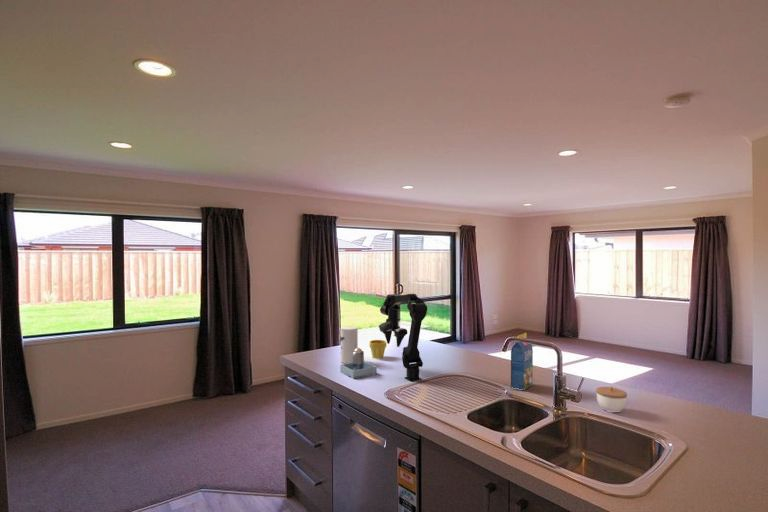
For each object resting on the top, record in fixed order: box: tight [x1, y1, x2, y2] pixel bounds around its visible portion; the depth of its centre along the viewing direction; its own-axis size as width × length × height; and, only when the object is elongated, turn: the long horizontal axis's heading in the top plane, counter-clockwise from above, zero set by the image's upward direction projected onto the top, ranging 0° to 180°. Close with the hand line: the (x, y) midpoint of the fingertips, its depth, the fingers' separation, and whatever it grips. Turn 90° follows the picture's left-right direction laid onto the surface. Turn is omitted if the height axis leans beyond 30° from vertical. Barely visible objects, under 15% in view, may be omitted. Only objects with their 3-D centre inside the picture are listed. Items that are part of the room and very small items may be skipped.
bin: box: [339, 360, 378, 379], centre depth 208 cm, size 14×14×4 cm
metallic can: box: [352, 347, 365, 370], centre depth 207 cm, size 6×6×12 cm
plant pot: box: [369, 339, 387, 359], centre depth 239 cm, size 10×10×10 cm
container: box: [340, 325, 359, 364], centre depth 231 cm, size 10×10×20 cm
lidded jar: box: [595, 386, 628, 412], centre depth 158 cm, size 11×11×9 cm
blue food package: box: [510, 332, 534, 391], centre depth 186 cm, size 6×12×25 cm, turn 140°
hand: (393, 345), depth 215 cm, fingers open, 9 cm apart
